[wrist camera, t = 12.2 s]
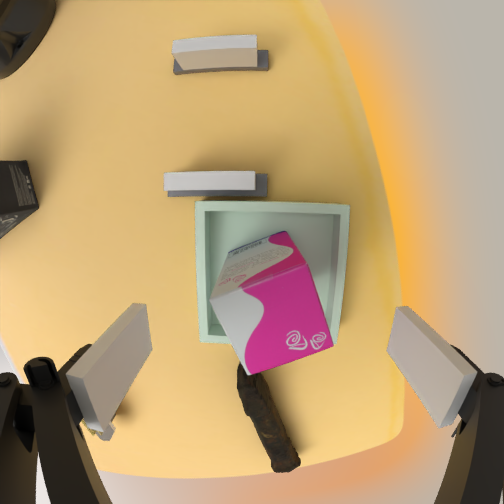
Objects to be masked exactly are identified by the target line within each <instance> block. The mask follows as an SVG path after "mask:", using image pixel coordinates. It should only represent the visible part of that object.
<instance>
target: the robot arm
mask: <svg viewBox="0 0 504 504" xmlns="http://www.w3.org/2000/svg"><path fill="white" fill-rule="evenodd" d="M55 8H56V3H55V0H0V79H3V78H5V77H7V76H9V75H10V74H12V73H13V72H14V71H15V70H17V69H18V68H19V67H20V66H21V65H22V64H23V63H24V62H25V61H26V59H27V58H28V57H29V56H30V55H31V53H32V52H33V51H34V50H35V48H36V47H37V45H38V44H39V43H40V41H41V40H42V38H43V36H44V35H45V33H46V31H47V30H48V28H49V26H50V24H51V21H52V19H53V16H54V13H55ZM151 351H152V344H151V337H150V331H149V323H148V316H147V308H146V304H137V303H133V304H132V305H131V306H130V307H129V308H128V309H127V310H126V311H125V312H124V313H123V314H122V315H121V316H120V317H119V318H118V319H117V320H116V321H115V322H114V323H113V324H112V325H111V326H110V327H109V328H108V329H107V330H106V331H105V332H104V333H103V334H102V335H101V336H100V337H99V338H98V340H97V341H96V342H95V343H94V344H93V345H92V344H87V345H86V346H84V347H82V348H80V349H79V350H78V351H77V352H76V353H75V354H74V356H72V357H71V358H70V359H69V361H67V362H66V363H65V364H64V365H63V366H62V368H61V369H60V370H59V371H58V372H57V370H56V367H55V364H54V362H53V360H52V359H50V358H48V357H37V358H34V359H31V360H30V361H28V362H27V363H26V364H25V365H24V372H25V374H26V377H27V379H28V381H29V384H20V383H19V381H18V378H17V376H16V375H15V374H13V373H10V372H6V373H1V374H0V504H36V472H37V458H38V453H39V458H40V463H41V467H42V472H43V476H44V480H45V484H46V488H47V492H48V496H49V499H50V502H51V504H112V502H111V500H110V498H109V496H108V494H107V492H106V490H105V488H104V485H103V483H102V481H101V479H100V476H99V474H98V472H97V469H96V467H95V464H94V462H93V459H92V457H91V454H90V451H89V449H88V446H87V443H86V440H85V438H84V435H83V432H82V429H81V427H80V425H79V423H80V422H81V420H82V419H83V418H84V421H85V423H86V425H87V427H88V428H90V429H94V430H97V431H100V432H105V430H106V428H107V426H108V424H109V423H110V421H111V419H112V417H113V416H114V414H115V412H116V410H117V409H118V407H119V405H120V403H121V402H122V400H123V398H124V396H125V395H126V393H127V391H128V390H129V388H130V386H131V384H132V383H133V381H134V379H135V378H136V376H137V374H138V373H139V371H140V369H141V368H142V366H143V364H144V363H145V361H146V359H147V358H148V356H149V354H150V353H151ZM387 352H388V354H389V355H390V356H391V358H392V359H393V361H394V362H395V364H396V365H397V366H398V368H399V369H400V371H401V372H402V374H403V375H404V377H405V378H406V379H407V381H408V382H409V384H410V385H411V387H412V388H413V390H414V391H415V393H416V394H417V396H418V397H419V399H420V400H421V402H422V403H423V405H424V406H425V408H426V410H427V411H428V413H429V414H430V416H431V417H432V419H433V420H434V422H435V423H436V425H437V427H438V428H442V427H444V426H448V425H451V424H452V423H453V422H454V420H455V418H456V416H457V414H459V415H460V417H461V418H462V419H461V421H460V423H459V424H458V426H457V428H456V430H455V431H454V433H453V434H452V436H451V437H454V435H455V434H456V437H455V441H454V445H453V449H452V452H451V456H450V459H449V463H448V466H447V469H446V472H445V476H444V478H443V481H442V484H441V487H440V490H439V492H438V495H437V497H436V500H435V502H434V504H499V503H500V497H501V492H502V490H503V504H504V378H503V377H502V376H500V375H499V374H495V373H486V374H484V373H483V372H482V371H481V370H480V369H479V368H478V367H477V366H476V365H475V364H474V363H473V362H472V361H471V360H470V359H469V358H468V357H467V356H465V354H464V353H463V352H462V351H461V350H460V349H458V348H456V347H454V346H453V345H450V344H449V343H447V342H446V341H445V340H444V339H443V338H442V337H441V336H440V335H439V334H438V333H437V332H436V331H435V330H434V329H433V328H431V327H430V326H429V325H428V324H427V323H426V322H425V321H424V320H423V319H422V318H421V317H419V316H418V315H417V314H416V313H415V312H414V311H412V309H411V308H409V307H408V306H402V307H396V310H395V315H394V320H393V325H392V330H391V334H390V338H389V343H388V347H387Z"/></svg>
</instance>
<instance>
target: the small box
mask: <svg viewBox="0 0 504 504" xmlns="http://www.w3.org/2000/svg"><path fill="white" fill-rule="evenodd" d="M38 208H39V206H38V203H37V199H36V195H35V191H34V188H33V184H32V180H31V176H30V172H29V168H28V164H27V161H26V160H23V161H0V239H1V238H2V237H3V236H4V235H5V234H7V233H8V232H9V231H10V230H11V229H13V228H14V227H15V226H16V225H18V224H19V223H20V222H21V221H23V220H24V219H25V218H27V217H28V216H29V215H31V214H32V213H33V212H35V211H36V210H37V209H38Z"/></svg>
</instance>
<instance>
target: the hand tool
mask: <svg viewBox="0 0 504 504" xmlns="http://www.w3.org/2000/svg"><path fill="white" fill-rule="evenodd" d="M237 389H238V392H239V396H240V398H241V401H242V403H243V407H244V411H245V413H246V415H247V416H250V418H251V420H252V422H253V423H254V427H255V428H256V431H257V433H258V436H259V438H260V440H261V442H262V444H263V446H264V448H265V450H266V452H267V454H268V456H269V457H270V459H271V467H272V469H273V471H274V472H276V473H277V472H278V473H280V472H281V473H283V472H290V471H292V470H294V469H295V468H297V467H298V466H300V464H301V460H300V458H299V457H298V453H297V452H295V448H293V446H292V444H291V441H290V438H289V437H288V436H287V434H286V431H285V428H284V425H283V424H282V421H281V419H280V417H279V414H278V412H277V409H276V407H275V405H274V402H273V400H272V397H271V395H270V391H269V387H268V385H267V383H266V381H265V379H264V377H263V376H262V374H261V373H260V372H258V373H255V374H252V375H247V373H246V371H245V369H244V367H243V366H242V364H241V362H240V364H239V366H238V369H237Z"/></svg>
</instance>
